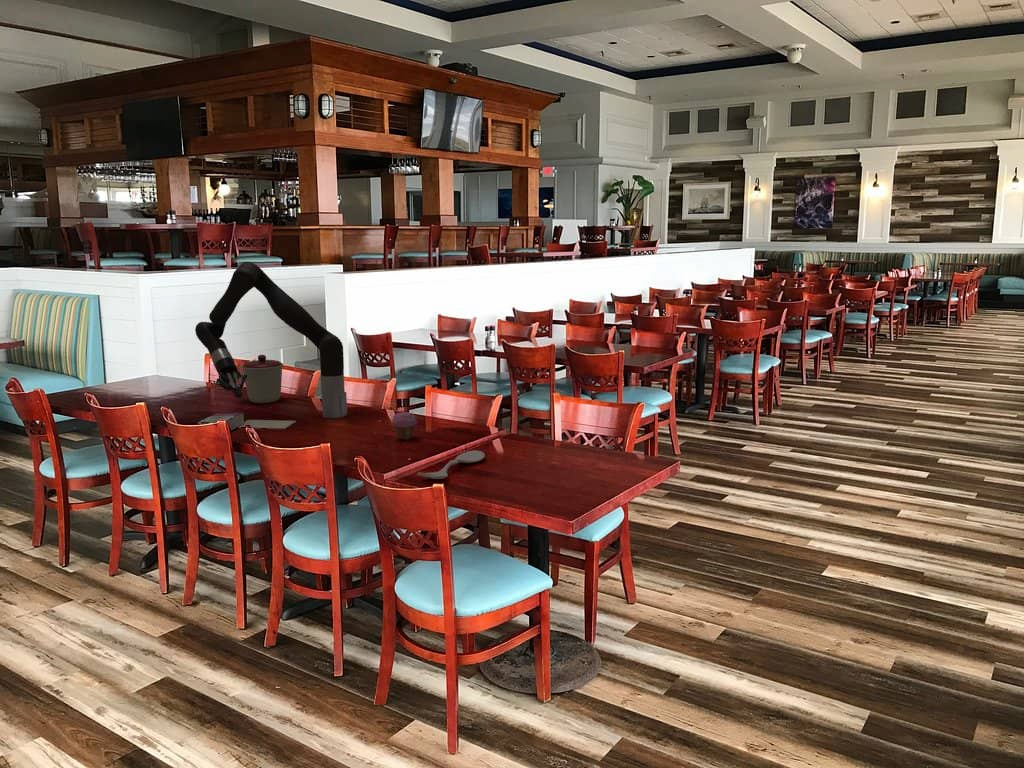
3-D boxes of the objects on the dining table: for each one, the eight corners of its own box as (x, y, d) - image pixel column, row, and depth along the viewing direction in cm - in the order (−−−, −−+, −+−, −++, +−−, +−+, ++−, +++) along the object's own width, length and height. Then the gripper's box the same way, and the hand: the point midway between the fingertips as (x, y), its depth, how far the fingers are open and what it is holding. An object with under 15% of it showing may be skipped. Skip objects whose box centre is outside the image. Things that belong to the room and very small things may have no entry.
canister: (242, 406, 356) (238, 358, 352) (245, 398, 374) (241, 352, 370) (285, 404, 361) (282, 356, 357) (286, 396, 378) (283, 351, 374)
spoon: (416, 482, 249) (415, 471, 248) (465, 456, 277) (465, 446, 277) (442, 486, 245) (441, 475, 244) (489, 459, 274) (489, 449, 273)
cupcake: (410, 442, 295) (409, 415, 293) (388, 440, 298) (387, 413, 296) (421, 436, 303) (420, 410, 301) (400, 434, 306) (399, 408, 304)
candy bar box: (218, 424, 325) (198, 434, 309) (216, 412, 324) (196, 421, 308) (245, 424, 324) (226, 433, 307) (243, 411, 323) (225, 420, 307)
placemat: (296, 421, 328) (296, 420, 328) (284, 429, 316) (284, 428, 316) (248, 420, 330) (248, 419, 330) (234, 427, 318) (234, 426, 318)
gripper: (237, 366, 333) (253, 400, 326) (205, 370, 324) (220, 405, 318) (242, 354, 328) (258, 389, 322) (209, 358, 319) (225, 393, 313)
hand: (239, 397), depth 320 cm, fingers closed
